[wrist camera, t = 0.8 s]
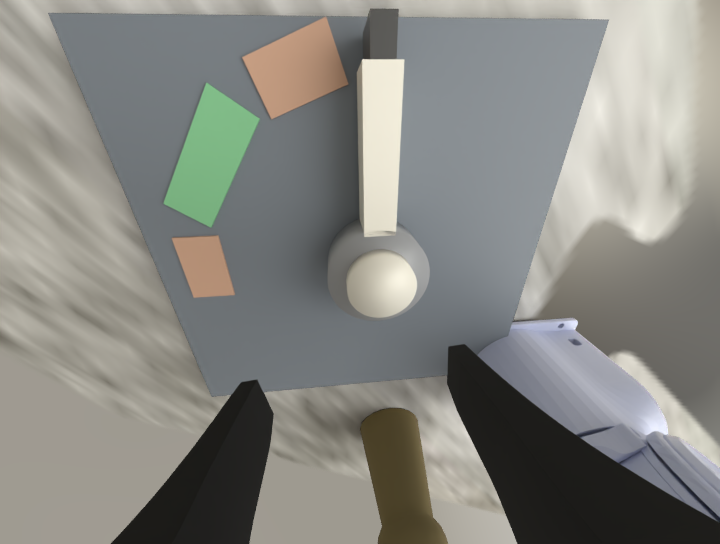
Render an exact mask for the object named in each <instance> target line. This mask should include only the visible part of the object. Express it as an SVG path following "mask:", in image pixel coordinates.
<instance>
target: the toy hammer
mask: <svg viewBox="0 0 720 544" xmlns="http://www.w3.org/2000/svg"><path fill="white" fill-rule="evenodd" d="M398 10H399V9H370V11H369V14H368V18H367V21H366V24H365V27H364V31H363V59H362V61H361V64H360V66H359V68H358V71H357V113H358V165H359V217H360V219H358V220H355V221H353V222H352V223H350V224H348V225H347V226H345V227H344V228H343V229H342V230H341V231H340V232H339V233H338V234H337V235H336V237H335V238H334V240H333V242H332V244H331V246H330V250H329V255H328V289H329V292H330V295H331V297H332V299H333V300H334V302H335V303H336V304H337V305H338V307H339V308H340V309H342V310H343V311H344V312H346V313H347V314H349V315H351V316H353V317H355V318H358V319H362V320H368V321H381V320H387V319H391V318H394V317H397V316H399V315H401V314H403V313H405V312H406V311H408V310H409V309H410V308H412V307H413V306H414V305H415V304H416V303H417V302H418V301H419V300H420V298H421V297H422V296H423V294H424V292H425V290H426V288H427V285H428V282H429V277H430V267H429V262H428V259H427V256H426V254H425V252H424V251H423V249H422V248H421V246H420V245H419V244H418V243H417V241H416V240H415V239H414V237H413V236H412V235H411V234H410V232H409V231H408V230H407V229H406V228H405V227H404V226H403V225H402V224H400V223H398V222H397V203H398V183H399V162H400V141H401V121H402V100H403V80H404V59H397V36H398Z"/></svg>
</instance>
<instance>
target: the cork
mask: <svg viewBox="0 0 720 544" xmlns="http://www.w3.org/2000/svg"><path fill="white" fill-rule="evenodd" d="M360 430H361V435H362V440H363V444H364V449H365V453H366V457H367V462H368V466H369V471H370V475H371V479H372V484H373V488H374V492H375V497H376V501H377V506H378V510H379V515H380V519H381V523H382V528H381V531H380V535H379V537H378V544H448V542H447V538H446V536H445V534H444V532H443V529H442V527H441V526H440V525H439V523H437V521H436V520H435V519H434V518H433V514H432V508H431V502H430V495H429V489H428V483H427V477H426V470H425V464H424V458H423V452H422V446H421V439H420V433H419V427H418V421H417V418H416V416H415V415H414V414H413V413H411V412H410V411H408V410H405V409H401V408H389V409H383V410H380V411H377V412H375V413H373V414H371V415H370V416H368V417H367V418H366V419H365V420H364V421H363V422H362V425H361V428H360Z"/></svg>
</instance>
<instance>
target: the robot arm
mask: <svg viewBox="0 0 720 544" xmlns="http://www.w3.org/2000/svg"><path fill="white" fill-rule="evenodd" d="M577 324H578V321H577V320H575V319H574V318H561V319H549V320H535V321H522V322H512V325H511V328H510V331H509V335H508V336H507V337H503V338H501V339H499V340H497V341H494V342H493V343H491V344H490V345H488V346H487V347H485V348H484V349H483V350H482V351H481V352H480V353H479V354H478V355H476V354H475V353H474V352H473V351H472V350H471V349H470V348H469V347H468V346H467V345H465V344H461V345H455V346H449V347H448V373H447V384H448V387H449V390H450V393H451V395H452V398H453V401H454V403H455V406H456V409H457V411H458V413H459V415H460V417H461V420H462V422H463V424H464V426H465V428H466V430H467V432H468V434H469V436H470V438H471V440H472V442H473V444H474V446H475V448H476V450H477V452H478V454H479V456H480V458H481V460H482V462H483V464H484V466H485V468H486V470H487V472H488V474H489V476H490V478H491V480H492V483H493V485H494V487H495V489H496V491H497V494H498V496H499V499H500V501H501V504H502V506H503V508H504V511H505V513H506V516H507V518H508V521H509V523H510V526H511V528H512V531H513V533H514V536H515V539H516V541H517V544H720V468H719V467H718V466H717V465H716V464H714V463H713V462H712V461H711V460H709V459H708V458H707V457H706V456H704V455H703V454H702V453H701V452H699V451H698V450H697V449H695V448H694V447H693V446H691V445H690V444H689V443H687V442H686V441H684V440H683V439H681V438H679V437H675V436H671V435H668V427H667V423H666V419H665V417H664V415H663V413H662V411H661V409H660V407H659V405H658V404H657V402H656V401H655V399H654V398H653V397H652V395H651V394H650V393H649V392H648V391H647V390H646V389H645V387H644V386H642V385H641V384H640V383H639V382H638V381H637V380H636V379H634V378H633V377H632V376H631V375H629V374H628V373H627V372H626V371H624V370H623V369H622V368H621V367H620V366H618V365H617V364H616V363H615V362H613V361H612V360H611V359H610V358H609V357H607V356H606V355H605V354H604V353H602V352H601V351H600V350H599V349H597V348H596V347H595V346H594V345H593V344H591V343H590V342H589V341H588V340H586V339H585V338H584V337H583V336H582V335H580V334H579V333H578V332H577V331H575V329H576V326H577ZM272 424H273V412H272V409H271V407H270V405H269V403H268V401H267V399H266V397H265V395H264V393H263V390H262V388H261V386H260V384H259V382H258V380H257V379H256V380H251V381H245V382H241V383H240V384H239V385H238V387H237V388H236V389H235V391H234V392H233V394H232V395H231V396H230V398H229V399H228V401H227V402H226V403H225V405H224V406H223V407H222V409H221V410H220V412H219V413H218V414H217V416H216V417H215V419H214V420H213V421H212V423H211V424H210V425H209V427H208V428H207V429H206V431H205V432H204V433H203V435H202V436H201V438H200V439H199V440H198V442H197V443H196V444H195V446H194V447H193V448H192V450H191V451H190V452H189V453H188V455H187V456H186V457H185V459H184V460H183V461H182V462H181V463H180V465H179V466H178V467H177V468H176V470H175V471H174V472H173V473H172V475H171V476H170V477H169V479H168V480H167V481H166V482H165V483H164V485H163V486H162V487H161V488H160V489H159V490H158V492H157V493H156V494H155V496H153V498H152V499H151V500H150V501H149V502H148V503H147V505H146V506H145V507H144V508H143V509H142V510H141V511H140V512H139V514H138V515H137V516H136V517H135V518H134V519H133V520H132V521H131V523H130V524H129V525H128V526H127V527H126V528H125V529H124V530H123V531H122V532H121V534H120V535H119V536H118V537H117V538H116V539H115V540H114V541H113V542H112V543H111V544H249V541H250V535H251V530H252V525H253V519H254V515H255V511H256V506H257V502H258V497H259V493H260V488H261V484H262V479H263V475H264V471H265V466H266V461H267V457H268V452H269V447H270V442H271V434H272Z"/></svg>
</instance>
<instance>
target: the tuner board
mask: <svg viewBox="0 0 720 544" xmlns="http://www.w3.org/2000/svg"><path fill="white" fill-rule="evenodd" d="M48 14H49V16H50V19H51V21H52V23H53V26H54V28H55V31H56V33H57V35H58V38H59V40H60V42H61V45H62V47H63V49H64V52H65V54H66V56H67V59H68V61H69V63H70V66H71V68H72V70H73V73H74V75H75V77H76V80H77V82H78V84H79V87H80V89H81V91H82V94H83V96H84V99H85V101H86V103H87V106H88V108H89V110H90V113H91V115H92V117H93V120H94V122H95V124H96V127H97V129H98V131H99V134H100V136H101V138H102V141H103V143H104V145H105V148H106V150H107V152H108V155H109V157H110V160H111V162H112V164H113V167H114V169H115V171H116V174H117V176H118V178H119V181H120V183H121V185H122V188H123V190H124V192H125V195H126V197H127V199H128V202H129V204H130V206H131V209H132V211H133V213H134V216H135V218H136V220H137V223H138V225H139V228H140V230H141V232H142V235H143V237H144V239H145V242H146V244H147V246H148V249H149V251H150V253H151V256H152V258H153V260H154V263H155V265H156V267H157V270H158V272H159V274H160V277H161V279H162V281H163V284H164V286H165V288H166V291H167V293H168V296H169V298H170V300H171V303H172V305H173V307H174V310H175V312H176V314H177V317H178V319H179V321H180V324H181V326H182V328H183V331H184V333H185V335H186V338H187V340H188V342H189V345H190V347H191V349H192V352H193V354H194V357H195V359H196V361H197V364H198V366H199V368H200V371H201V373H202V375H203V378H204V380H205V382H206V385H207V387H208V389H209V392H210V394H211V396H212V397H214V396H225V395H232V394H233V392H234V391H235V389H236V388H237V387H238V385H239V384H240V383H241V382H245V381H251V380H256V379H257V380H258V382H259V384H260V386H261V388H262V390H263V392H269V391H280V390H291V389H302V388H313V387H324V386H335V385H346V384H357V383H368V382H379V381H390V380H401V379H412V378H423V377H434V376H445V375H447V373H448V347H449V346H455V345H461V344H465V345H467V346H468V347H469V348H470V349H471V350H472V351H473V352H474V353H475V354H476V355H478V354H479V353H480V352H481V351H482V350H483V349H484V348H485V347H487V346H488V345H490V344H491V343H493V342H494V341H497V340H499V339H501V338H503V337H507V336H508V335H509V331H510V328H511V325H512V322H513V319H514V316H515V313H516V310H517V306H518V303H519V300H520V297H521V294H522V291H523V288H524V284H525V281H526V278H527V275H528V272H529V269H530V266H531V263H532V259H533V256H534V253H535V250H536V247H537V244H538V241H539V237H540V234H541V231H542V228H543V225H544V222H545V219H546V216H547V212H548V209H549V206H550V203H551V200H552V197H553V194H554V190H555V187H556V184H557V181H558V178H559V175H560V172H561V169H562V165H563V162H564V159H565V156H566V153H567V150H568V147H569V143H570V140H571V137H572V134H573V131H574V128H575V125H576V122H577V118H578V115H579V112H580V109H581V106H582V103H583V100H584V96H585V93H586V90H587V87H588V84H589V81H590V78H591V75H592V71H593V68H594V65H595V62H596V59H597V56H598V53H599V49H600V46H601V43H602V40H603V37H604V34H605V31H606V28H607V24H608V21H609V20H599V19H516V18H432V17H398V36H397V59H404V80H403V100H402V121H401V141H400V162H399V183H398V203H397V222H398V223H400V224H402V225H403V226H404V227H405V228H406V229H407V230H408V231H409V232H410V234H411V235H412V236H413V237H414V239H415V240H416V241H417V243H418V244H419V245H420V246H421V248H422V249H423V251H424V252H425V254H426V256H427V259H428V262H429V267H430V277H429V282H428V285H427V288H426V290H425V292H424V294H423V296H422V297H421V298H420V300H419V301H418V302H417V303H416V304H415V305H414V306H413V307H412V308H410V309H409V310H408V311H406V312H405V313H403V314H401V315H399V316H397V317H394V318H391V319H387V320H381V321H368V320H362V319H358V318H355V317H353V316H351V315H349V314H347V313H346V312H344V311H343V310H342V309H340V308H339V307H338V305H337V304H336V303H335V302H334V300H333V299H332V297H331V295H330V292H329V289H328V255H329V250H330V246H331V244H332V242H333V240H334V238H335V237H336V235H337V234H338V233H339V232H340V231H341V230H342V229H343V228H344V227H345V226H347V225H348V224H350V223H352V222H353V221H355V220H358V219H360V217H359V165H358V113H357V71H358V68H359V66H360V64H361V61H362V59H363V31H364V27H365V24H366V21H367V18H368V17H349V16H266V15H182V14H99V13H48Z"/></svg>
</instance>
